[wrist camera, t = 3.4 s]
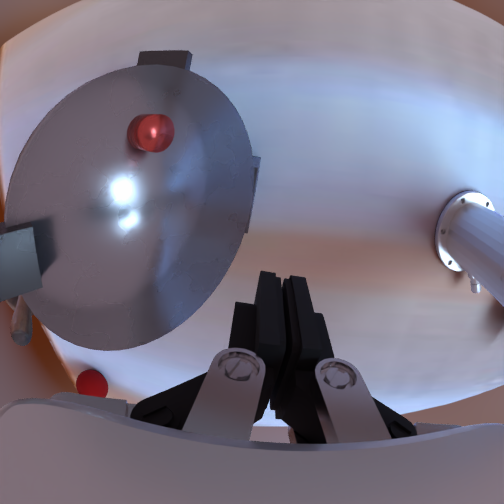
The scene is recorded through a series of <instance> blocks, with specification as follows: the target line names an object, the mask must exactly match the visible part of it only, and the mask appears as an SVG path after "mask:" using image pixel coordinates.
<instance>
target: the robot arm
mask: <svg viewBox="0 0 504 504" xmlns="http://www.w3.org/2000/svg"><path fill="white" fill-rule="evenodd" d="M435 245H436V251H437V254H438V256H439V258H440V260H441V261H442V262H443V263H444V264H445V265H446V266H447V267H448V268H449V269H451V270H454V271H466V272H467V273H468V277H469V278H470V279H471V281H470V283H471V291H472V292H473V293H478V292H480V291H481V285H482V286H483V287H484V288H486V289H487V290H488V291H489V292H490V293H491V294H492V295H493V296H494V297H495V298H496V299H497V300H498V301H499V302H500V303H501V304H502V306H503V307H504V216H502V215H500V214H499V213H497V212H495V210H494V207H493V205H492V203H491V202H490V200H489V199H488V198H487V197H486V196H485V195H483V194H481V193H479V192H476V191H465V192H462V193H460V194H458V195H456V196H455V197H454V198H453V199H451V200H450V202H449V203H448V204H447V205H446V207H445V208H444V210H443V211H442V213H441V216H440V218H439V220H438V224H437V227H436V233H435ZM269 399H270V409H271V410H275V416H276V419H282V420H283V421H284V422H285V423H286V424H288V425H289V426H288V436H289V440H290V443H272V442H259V441H249V439H250V435H251V431H252V427H253V424H254V423H255V422H257V421H258V420H260V419H261V418H262V417H263V414H264V411H265V409H266V408H267V405H268V402H269ZM0 504H504V424H499V423H491V424H490V423H485V424H477V425H469V426H464V427H462V426H459V425H446V424H430V423H418V422H416V423H415V424H414V425H412V423H411V422H410V421H408V420H407V419H406V418H404V417H403V416H401V415H400V414H398V413H396V412H395V411H393V410H392V409H390V408H389V407H387V406H385V405H384V404H382V403H381V402H379V401H378V400H376V399H375V398H373V397H372V396H371V394H370V392H369V390H368V388H367V386H366V384H365V382H364V380H363V378H362V376H361V374H360V372H359V371H358V370H357V368H356V367H355V366H353V365H352V364H351V363H349V362H347V361H345V360H342V359H339V358H334V354H333V350H332V346H331V343H330V339H329V335H328V331H327V328H326V324H325V320H324V317H323V314H321V313H314V310H313V306H312V302H311V298H310V294H309V290H308V286H307V282H306V278H305V277H298V276H292V275H291V276H290V278H289V279H286V278H285V279H284V281H283V285H282V287H281V278H279V277H276V273H272V272H265V271H261V272H260V276H259V281H258V287H257V292H256V297H255V302H254V304H248V303H241V302H235V309H234V315H233V321H232V328H231V334H230V341H229V347H228V349H225V350H222V351H221V352H219V353H218V354H217V355H216V356H215V357H214V359H213V361H212V363H211V365H210V368H209V370H208V372H206V373H204V374H202V375H200V376H198V377H195V378H193V379H191V380H189V381H186V382H184V383H182V384H180V385H177V386H175V387H173V388H170V389H168V390H166V391H163V392H161V393H158V394H156V395H154V396H151V397H149V398H146V399H144V400H142V401H140V402H139V403H137V404H128V403H127V400H121V399H111V398H103V397H95V396H88V395H81V394H75V393H69V392H61V393H58V394H55V395H53V396H52V397H51V398H50V399H40V398H26V399H18V400H15V401H12V402H10V403H8V404H6V405H4V406H3V407H2V408H1V409H0Z"/></svg>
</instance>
